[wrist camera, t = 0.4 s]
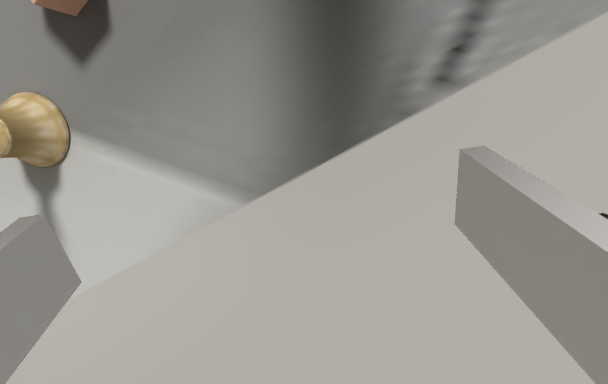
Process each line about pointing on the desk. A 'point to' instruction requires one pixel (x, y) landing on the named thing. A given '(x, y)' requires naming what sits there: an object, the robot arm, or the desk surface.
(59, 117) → the hand bell
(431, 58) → the desk surface
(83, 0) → the terracotta block
